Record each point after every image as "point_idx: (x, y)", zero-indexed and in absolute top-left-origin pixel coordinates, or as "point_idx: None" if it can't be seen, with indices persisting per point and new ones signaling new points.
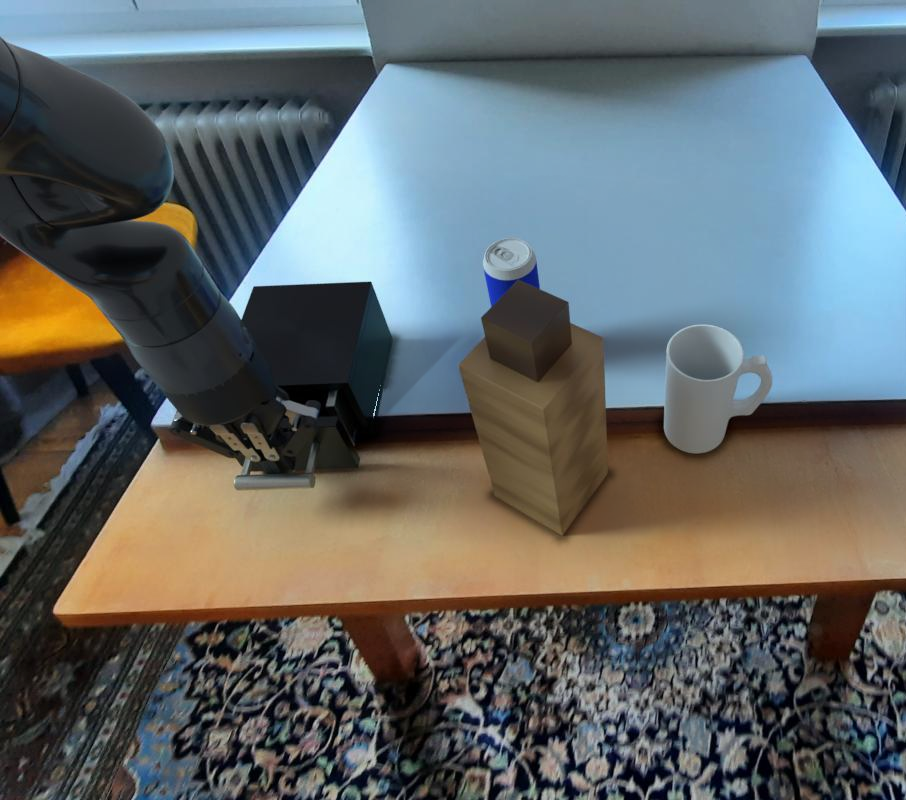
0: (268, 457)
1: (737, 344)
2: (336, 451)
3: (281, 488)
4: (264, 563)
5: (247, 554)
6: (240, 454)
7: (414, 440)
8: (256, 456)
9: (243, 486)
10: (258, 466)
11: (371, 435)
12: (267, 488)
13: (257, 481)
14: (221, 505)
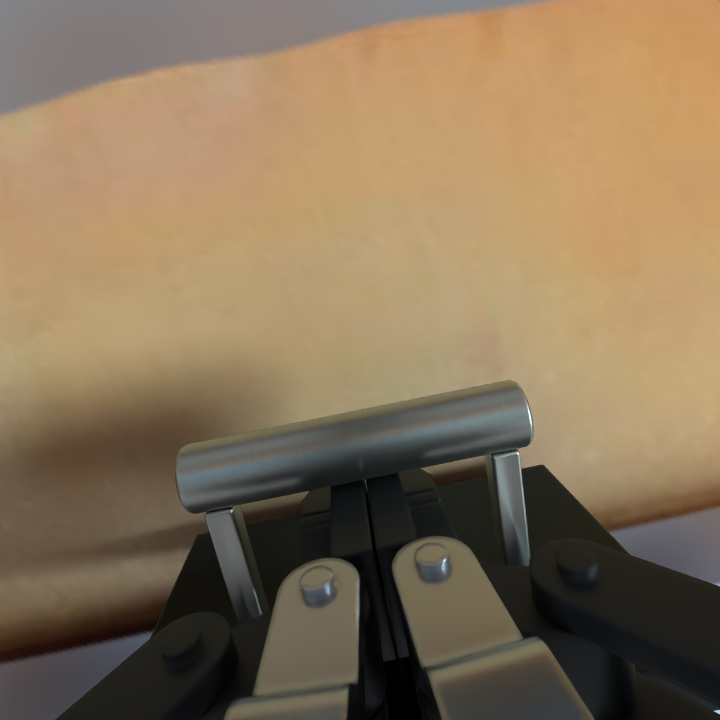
0: (340, 581)
1: None
2: (210, 599)
3: (312, 420)
4: (369, 185)
5: (436, 207)
6: (524, 566)
7: (98, 635)
8: (412, 578)
9: (480, 398)
10: (440, 503)
11: None
12: (374, 409)
13: (420, 431)
14: (580, 351)
